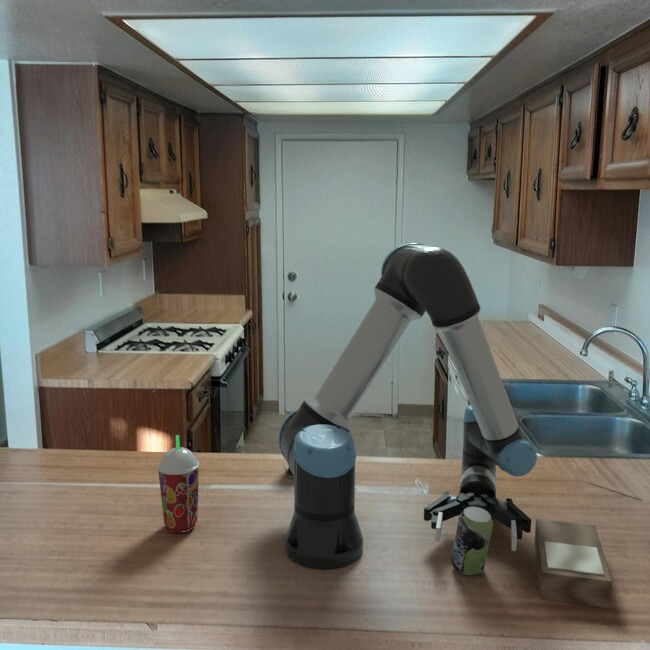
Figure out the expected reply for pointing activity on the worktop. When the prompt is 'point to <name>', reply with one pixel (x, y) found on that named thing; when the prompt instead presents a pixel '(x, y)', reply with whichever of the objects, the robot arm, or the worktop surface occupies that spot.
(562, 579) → the riser
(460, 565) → the beverage can
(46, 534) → the worktop surface
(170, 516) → the smoothie
